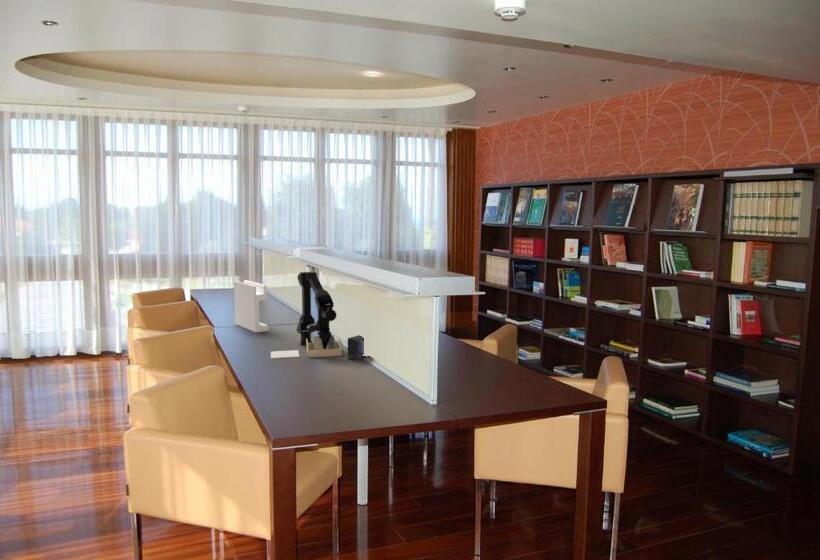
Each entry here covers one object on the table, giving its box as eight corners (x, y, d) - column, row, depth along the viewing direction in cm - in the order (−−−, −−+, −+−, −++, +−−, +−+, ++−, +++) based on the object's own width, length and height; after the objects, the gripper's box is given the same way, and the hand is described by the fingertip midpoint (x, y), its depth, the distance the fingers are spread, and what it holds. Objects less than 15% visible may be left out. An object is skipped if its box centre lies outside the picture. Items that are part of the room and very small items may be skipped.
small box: (356, 360, 310) (356, 339, 309) (347, 358, 314) (346, 338, 313) (371, 356, 319) (370, 335, 317) (361, 354, 322) (360, 334, 321)
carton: (306, 349, 334) (306, 338, 333) (339, 348, 338) (339, 336, 337) (308, 357, 317) (307, 345, 317) (343, 355, 321) (342, 343, 320)
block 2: (314, 351, 329) (313, 335, 328) (333, 350, 331) (333, 334, 330) (314, 353, 324) (314, 337, 323) (334, 352, 326) (334, 336, 325)
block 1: (235, 323, 410) (233, 280, 407) (247, 322, 414) (245, 279, 411) (255, 332, 381) (253, 286, 378) (268, 330, 386) (266, 285, 383)
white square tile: (270, 352, 329) (270, 351, 329) (298, 351, 332) (298, 350, 332) (270, 358, 315) (270, 357, 315) (299, 357, 318) (299, 356, 318)
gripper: (306, 315, 333) (307, 344, 335) (308, 321, 315) (309, 352, 316) (327, 314, 335) (328, 343, 337) (331, 320, 317) (331, 351, 319)
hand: (324, 347), depth 327 cm, fingers closed on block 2, 5 cm apart
